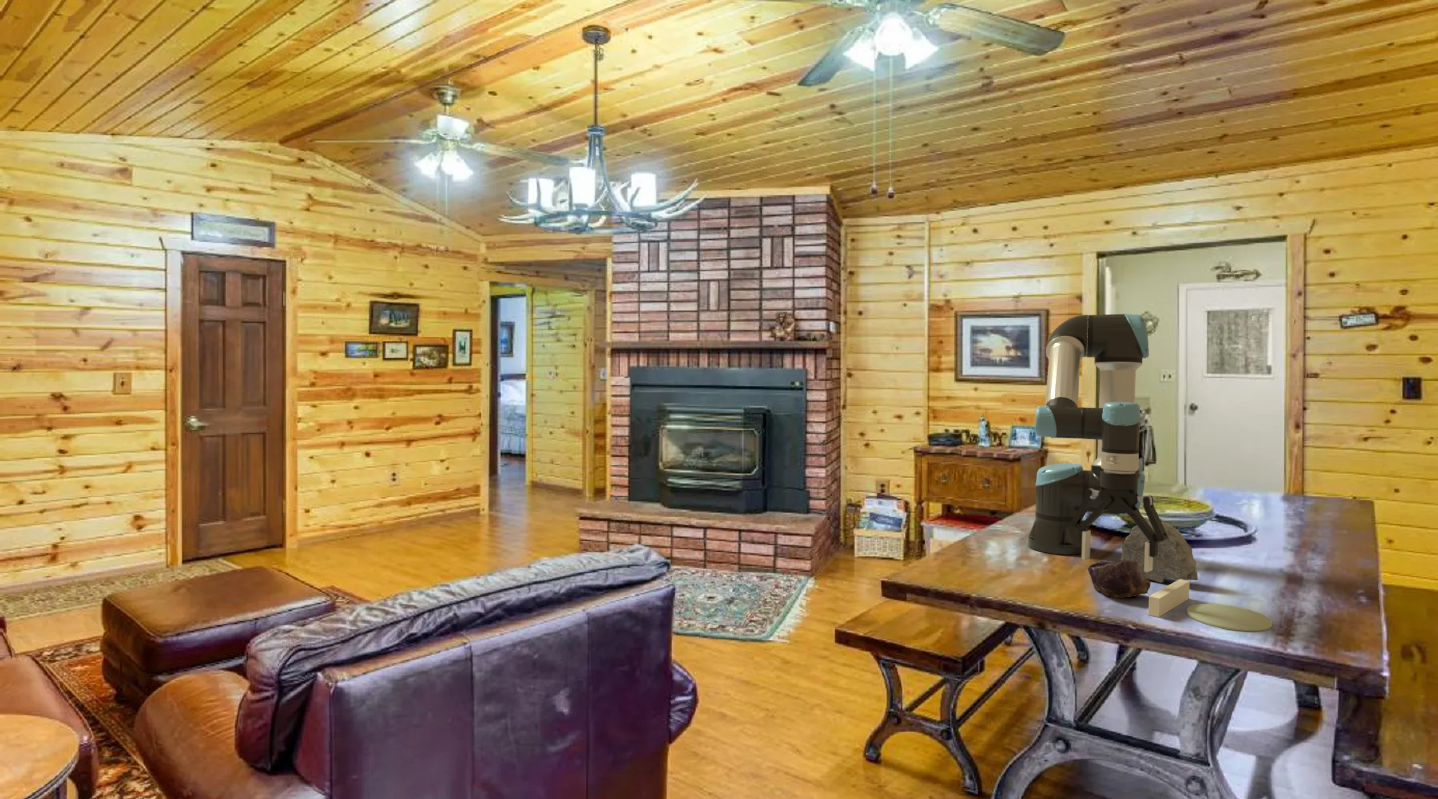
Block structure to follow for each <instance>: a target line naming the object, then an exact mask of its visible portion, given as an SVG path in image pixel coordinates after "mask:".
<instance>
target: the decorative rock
mask: <svg viewBox="0 0 1438 799" xmlns="http://www.w3.org/2000/svg"><path fill="white" fill-rule="evenodd" d="M1145 520H1146V519H1145ZM1160 520H1161V523H1162V525H1163V527H1164V529H1165V531H1166V533H1167V535H1168V539H1166V540H1164V541H1159V542H1158V554H1157V556H1156V557H1153V568H1152V570H1151V571H1149V572H1144V559H1145V542H1147V541H1149V540H1148V539H1147V537H1146V536H1145V535H1144V533H1143V532H1142V531H1141V529H1140V528H1139V527H1138V526H1137V525H1135V526H1133V527H1132V529H1131V531H1130V534H1129V535H1127V536H1125V540H1124V541H1123V545H1122V546H1121V550H1122V551H1121V557H1120V560H1131V561H1132V560H1134V561H1137V563H1138V566H1139V567H1140V570H1141V573H1142V576H1143V578H1144V579H1148V580H1149V581H1155V582H1157V583H1164V581H1165V580H1166V579H1170V580H1179V579H1182V580H1187V581H1198V580H1199V576H1198V570H1197V561H1196V559H1194V555H1193V548H1192V547H1191V546H1190V544H1188V542H1187V540H1186V539H1185V538H1184V536H1183V534H1182V533H1181V532H1180V531H1179V530H1178V529H1177V528H1175V527H1174V526H1172V525H1171V524H1169V523H1168V522H1165V521H1164V520H1162V518H1160ZM1146 521H1147V523H1148V524H1149V525H1150V527H1151V528H1152V529H1153V527H1152V525H1151V523H1150V520H1149V519H1147V520H1146ZM1153 531H1154V529H1153ZM1154 532H1155V531H1154Z"/></svg>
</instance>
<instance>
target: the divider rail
mask: <svg viewBox="0 0 1438 799" xmlns="http://www.w3.org/2000/svg"><path fill="white" fill-rule="evenodd" d="M1190 582H1191V580H1182V579H1179V580H1178V579H1176V580H1175V581H1174V582H1172V583H1171V584H1168V585H1166V586H1165V587H1163V588H1161V589H1160V590H1158V591H1156V592H1154V593H1152V594H1151V595H1149V596H1148V612H1147V613H1148V616H1151V617H1156V618H1160V617H1161V616H1163V615H1164V614H1166V613H1167V612H1170V611H1172V610H1173V609H1174V608H1176V607H1178V606H1179V605H1181V604H1182V603H1184V602H1186V601H1187V600H1189V599H1190Z"/></svg>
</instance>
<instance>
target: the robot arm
mask: <svg viewBox="0 0 1438 799" xmlns="http://www.w3.org/2000/svg"><path fill="white" fill-rule="evenodd" d="M1146 324H1147V323H1146V320H1145V318H1144V317H1143V316H1142V315H1140V314H1132V313H1131V314H1130V313H1118V314H1116V313H1115V314H1112V313H1111V314H1081V315H1076V316H1073V317H1070V318H1068V319H1067V320H1065V321H1063V322H1062V323H1061V324H1059V325H1058V326H1057V327H1056V328H1055V329H1054V330H1053V331H1052V332H1051V334H1050V335H1049V337H1048V339H1047V342H1046V347H1045V354H1046V358H1047V359H1048V371H1047V378H1046V379H1047V380H1046V393H1045V404H1044V405H1041V406H1040V405H1039V406H1037V407H1036V408H1035V413H1034V432H1035V435H1036V436H1038V437H1045V438H1051V439H1078V440H1079V439H1083V440H1097V458H1096V459H1095V460H1094V461H1092V463H1091V464H1090V470H1087V469H1084V467H1083V466H1082V464H1080V463H1057V464H1056V463H1055V464H1050V465H1049V464H1048V465H1045V466H1042V467H1040V468H1039V469H1038V470H1037V472H1036V482H1035V489H1036V490H1035V518H1034V521H1033V523H1032V525H1031V529H1030V532H1029V534H1028V537H1027V547H1028V548H1030V549H1032V550H1035V551H1039V552H1042V553H1045V554H1046V553H1048V554H1053V555H1054V554H1055V555H1080V554H1081V560H1083V561H1086V560H1088V559H1090V558H1091V537H1092V536H1091V534H1092V533H1091V530H1090V529H1089V527H1091V525H1092V524H1094V522H1095V521H1096V520H1097V519H1099V518H1100V517H1101V516H1102V515H1107V516H1117V517H1130V518H1131V519H1132V520H1133V522H1134V523H1135V524H1136V526H1138V527H1139V528H1140V529H1141V531H1142V532H1143V533H1144V535H1145V536H1146V537H1147V539H1148V540H1149V541H1147V542H1145V559H1144V572H1149V571H1151V570H1152V568H1153V557H1156V556H1157V554H1158V542H1159V541H1164V540H1166V539H1168V535H1167V533H1166V531H1165V529H1164V527H1163V525H1162V523H1161V520H1160V519H1161V518H1160V517H1159V514H1158V512H1157V510H1156V508H1155V506H1154V503H1155V502H1154V497H1153V496H1152V495H1145V496H1144V491H1145V481H1146V474H1144V473H1142V472H1140V465H1139V456H1140V455H1139V454H1140V453H1139V452H1140V448H1139V446H1140V431H1141V428H1140V426H1141V418H1142V417H1141V406H1140V404H1138V403H1137V402H1136V374H1137V373H1136V372H1137V370H1138V369H1139V368H1140V367H1141V366H1142V365H1143V359H1147V358H1148V357H1149V356H1150V351H1149V350H1150V349H1149V336H1148V329H1147V325H1146ZM1083 358H1094V362H1093V364H1094V366H1096V367H1097V368H1098V369H1099V371H1100V372H1099V373H1100V374H1099V375H1100V376H1099V403H1098V405H1099V406H1098V407H1083V406H1082V407H1081V406H1080V407H1079V397H1080V396H1079V393H1080V391H1079V390H1080V370H1081V369H1080V367H1081V366H1080V365H1081V361H1082V360H1083ZM1141 506H1142V507H1143V510H1144V512H1145V514H1146V516H1147V518H1148V520H1150V523H1151V525H1152V527H1153V529H1154V531H1155V532H1154V531H1153V529H1152V528H1151V527H1150V525H1149V524H1148V523H1147V521H1146V518H1144V516H1143V515H1142V514H1141V511H1140V509H1141ZM1086 514H1089V516H1087V517H1086V518H1085V519H1084V517H1085V515H1086ZM1083 519H1084V520H1083ZM1082 520H1083V521H1082Z"/></svg>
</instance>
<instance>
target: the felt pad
mask: <svg viewBox="0 0 1438 799" xmlns="http://www.w3.org/2000/svg"><path fill="white" fill-rule="evenodd" d="M1186 614H1187V616H1188V617H1190V618H1191V619H1193V620H1195V621H1196V622H1199V623H1201V624H1205V625H1208V626H1211V627H1215V628H1218V629H1224V630H1229V631H1230V630H1231V631H1238V632H1264V631H1267V630H1269V629H1271V628H1272V627H1273V621H1272V619H1271V618H1270V617H1268V616H1266V615H1265V614H1263V613H1260V612H1258V611H1254V610H1251V609H1249V608H1243V607H1240V606H1234V605H1229V604H1220V603H1197V604H1196V603H1195V604H1192V605H1189V606H1188V607H1187V608H1186Z"/></svg>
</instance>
